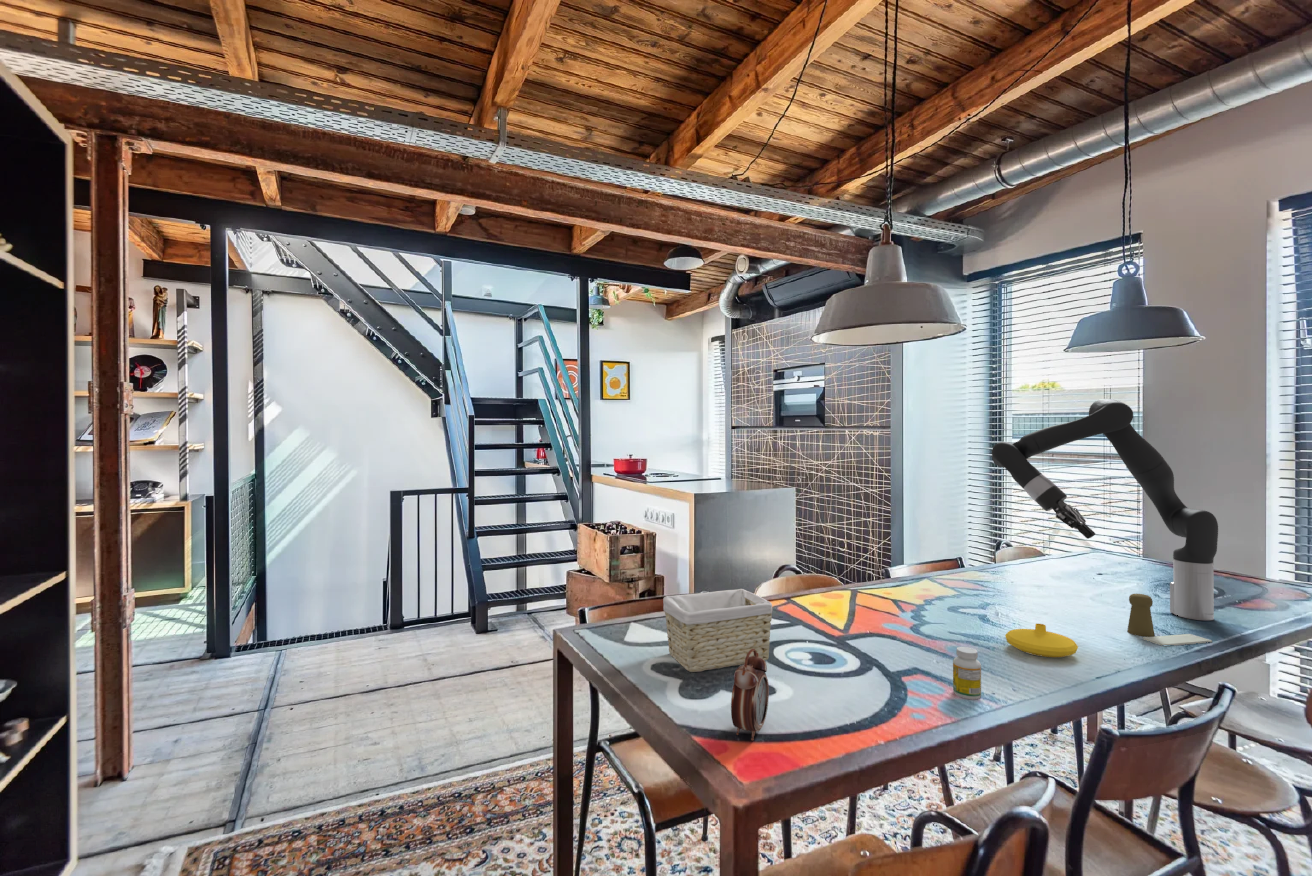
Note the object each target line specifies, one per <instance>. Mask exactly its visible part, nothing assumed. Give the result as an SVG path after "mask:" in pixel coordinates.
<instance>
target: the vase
mask: <svg viewBox="0 0 1312 876" xmlns="http://www.w3.org/2000/svg"><path fill="white" fill-rule="evenodd" d="M1004 636H1005V640H1006V642H1007V643H1008V644H1009V645H1011V646H1012V647H1014V648H1015V649H1016V650H1019V651H1021V652H1024V653H1026V654H1029V655H1033V656H1038V657H1043V658H1063V657H1064V658H1065V657H1069V656H1072V655H1075V654H1076V653H1077V651H1078V649H1079V645H1078V644H1077V643H1076V641H1074V640H1073V639H1071V638H1070V637H1068V636H1065V635H1063V634H1061V633H1060V634H1059V633H1056V632H1051V631H1048V630H1047V625H1046V624H1043V623H1035V629H1033V628H1014V629H1011V630H1009V631H1007V632H1006V633H1005V635H1004Z"/></svg>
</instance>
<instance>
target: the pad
mask: <svg viewBox="0 0 1312 876" xmlns="http://www.w3.org/2000/svg"><path fill="white" fill-rule="evenodd" d="M1143 639H1144V640H1143ZM1142 640H1143V641H1146V640H1147V642H1149V641H1150V642H1149V643H1153V644H1156V645H1159V646H1162V645H1174V646H1185V644H1186V645H1194V644H1196V643H1198V644H1207V643H1208V642H1210V643H1213V640H1212V639H1209V638H1206V637H1202V636H1198V635H1195V634H1192V633H1183V634H1172V635H1171V634H1170V635H1159V636H1154V637H1143V636H1142ZM1206 642H1207V643H1206ZM1208 644H1209V643H1208Z"/></svg>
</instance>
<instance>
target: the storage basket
mask: <svg viewBox="0 0 1312 876" xmlns="http://www.w3.org/2000/svg"><path fill="white" fill-rule="evenodd" d="M662 600H663V601H662V602H663V608H662V609H663V612H664V616H665V621H666V624H665V625H666V626H665V627H666V629H667V632H666V634H667V642H668V651H669V655H670V656H671V657H672V658H673V659H674V660H676V661H677V663H678V664H680V665H681V666H682V667H683V668H684V669H685V670H687V671H688V672H690V673H695V672H697V673H698V672H703V671H704V672H705V671H707V670H709V671H710V670H711V671H712V670H715V669H716V670H717V669H722V668H728V667H731V666H733V667H734V666H735V667H736V666H742V665H744V663H745V658H746V656H747V654H748V652H749V651H750V650H751V649H755V650H756V653H758V654H759V655H758V657H760V658H762V659H763V660H764V661H767V660H769V657H770V656H769V653H770V643H771V642H770V638H771V637H770V636H771V626H772V618H773V616H772V613H773V603H772V602H771V601H769V600H767V599H765V598H763V597H761V596H760V595H758V594H756V593H753V592H751V591H749V590H746V589H744V588H738V589H727V590H726V589H725V590H717V591H710V592H698V593H688V594H687V593H686V594H677V595H666V596H664V597H663V599H662ZM750 656H754V652H752V653H751V654H750ZM750 656H749V657H750Z"/></svg>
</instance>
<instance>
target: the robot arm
mask: <svg viewBox="0 0 1312 876" xmlns="http://www.w3.org/2000/svg"><path fill="white" fill-rule="evenodd" d="M1133 419H1134V412H1133V409H1132V408H1131V407H1130V406H1129V405H1128V404H1126V403H1124V402H1121V401H1119V400H1116V399H1112V398H1100V399H1097V400H1095V401H1094V402H1093V403H1092V404H1091V405H1090V406H1089V409H1088V415H1087V416H1084V417H1082V418H1078V419H1076V420H1072V421H1069V422H1063V423H1059V424H1055V425H1054V424H1053V425H1051V426H1047V427H1044V428H1041V429H1037V430H1036V431H1033V432H1030V433H1027V434H1025V435H1023V436H1021V438H1020V439H1019V440H1017V441H1015V442H1013V443H1010V442H1007V441H1000V442H997V443H995V444H994V445H993V447H992V449H991V459H992V462H993V464H994V465H996V467H999V468H1005V470H1007V472H1009V473H1010V475H1011V477H1012V479H1013V480H1014V481H1015V482H1016V483H1017V484H1018V486H1020V487H1021V488H1022V489H1023V490H1024V491H1025V492H1026V493H1027V495H1028V496H1029V497H1030V498H1031V499H1033V501H1034V502H1035V503H1036V504H1038V505H1039V506H1040V507H1041V508H1042V509H1043V511H1045V512H1049V511H1051V510H1053V511H1054V512H1055V513H1054V514H1055V518H1057V519H1058V520H1059V521H1061V522H1063V524H1065V525H1067V526H1068V527H1069V528H1071V529H1075V530H1077V531H1078V532H1079V533H1080V534H1082V535H1083V537H1085V538H1086V540H1087V539H1092V538H1093V537H1094V536H1095V535H1096V533H1095V531H1094V530H1092V528H1091V527H1089V525H1087V524H1086V522H1087V520H1086V519H1085V518H1084V516H1083V515H1082V514H1081V512H1080V511H1079V510H1078V508H1076V507H1073V506H1072V505H1071V504H1067V502H1065V500H1066V499H1067V497H1068V496H1067V494H1066V493H1065V492H1064V491H1063V490H1061V488H1059V487H1058V486H1057V485H1056V484H1055V483H1054V482H1053V481H1052V480H1051V479H1049V478H1048V477H1046V476H1045V475H1044V474H1043V473H1042V472H1041V471H1040V470H1038V469H1037V468H1036V467H1035V465H1033V464H1031V463H1030V462H1029V460H1028V459H1029V458H1031V457H1033V456H1036V455H1039V454H1042V453H1045V452H1048V451H1050V450H1053V449H1056V448H1058V447H1061V446H1063V445H1067V444H1070V443H1073V442H1076V441H1079V440H1082V439H1086V438H1089V437H1093V436H1098V435H1102V434H1103V435H1104V437H1105V438H1106V439H1107V440H1108V441H1109V442H1110V444H1111V445H1112V446H1113V448H1114V449H1115V451H1116V453H1117V454H1118V456H1119V458H1120V459H1121V461H1122V462H1123V464H1124V465H1125V466H1126V468H1127V470H1128V471H1129V472H1130V474H1131V476H1133V478H1134V479H1135V480H1136V482H1137V483H1138V484H1139V485H1140V487H1141V488H1142V489H1143V491H1144V492H1145V494H1146V495H1147V496H1148V498H1149V499H1150V501H1151V502H1152V504H1153V505H1154V507H1155V509H1156V510H1157V512H1158V514H1159V515H1160V518H1161V519H1162V521H1163V522H1164V524H1165V527H1166V528H1167V529H1168V530H1169V531H1170V532H1171V533H1172V534H1173V535H1175V536H1177V537H1181V538H1184V539H1185V542H1184V543H1185V544H1184V546H1183V547H1181V548H1176V549H1174V550H1173V554H1172V558H1173V560H1172V561H1173V563H1172V564H1173V565H1172V566H1173V567H1172V569H1173V571H1172V573H1173V581H1172V582H1170V583H1169V614H1174V615H1175V616H1177V615H1178V616H1177V617H1180V618H1185V619H1188V620H1189V619H1190V620H1197V621H1214V619H1215V618H1214V617H1215V615H1214V614H1215V613H1214V612H1215V611H1214V609H1215V608H1214V604H1215V601H1214V600H1215V598H1214V595H1215V593H1214V588H1215V587H1214V586H1215V584H1214V583H1215V582H1214V559H1215V556H1216V554H1217V552H1218V541H1219V540H1218V539H1219V524H1218V523H1219V522H1218V520H1217V518H1216V516H1215V515H1214V514H1213V513H1212V512H1210V511H1208V510H1205V509H1204V510H1203V509H1197V508H1189V507H1188V506H1186V505H1185V504H1184V503H1183V501H1182V500H1181V499H1180V497H1179V495H1178V494H1177V493H1176V491H1175V477H1174V472H1173V470H1172V468H1171V466H1170V464H1169V463H1167V461H1166V460H1165V458H1164V457H1163V456H1162V455H1161V453H1160V452H1159V451H1158V450H1157V449H1156V448H1155V447H1154V446H1152V444H1151V443H1150V442H1148V440H1146V439H1145V438H1144V437H1142V436H1141V434H1139V433H1138V432H1137V430H1136V429H1135V428H1134V427H1133V425H1132V424H1131V423H1132V421H1133Z"/></svg>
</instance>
